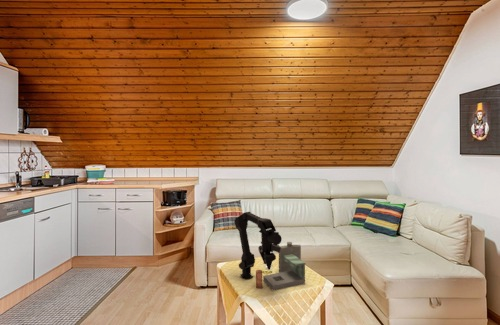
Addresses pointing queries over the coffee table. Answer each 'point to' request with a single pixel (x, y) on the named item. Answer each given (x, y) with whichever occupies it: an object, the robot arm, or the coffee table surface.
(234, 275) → the coffee table surface
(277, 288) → the socket deck
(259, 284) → the peg
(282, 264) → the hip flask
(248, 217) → the robot arm
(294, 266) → the awning
